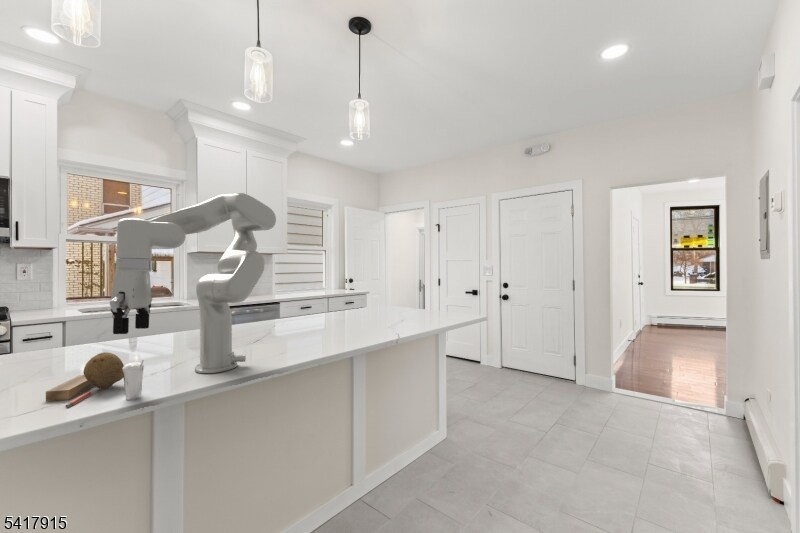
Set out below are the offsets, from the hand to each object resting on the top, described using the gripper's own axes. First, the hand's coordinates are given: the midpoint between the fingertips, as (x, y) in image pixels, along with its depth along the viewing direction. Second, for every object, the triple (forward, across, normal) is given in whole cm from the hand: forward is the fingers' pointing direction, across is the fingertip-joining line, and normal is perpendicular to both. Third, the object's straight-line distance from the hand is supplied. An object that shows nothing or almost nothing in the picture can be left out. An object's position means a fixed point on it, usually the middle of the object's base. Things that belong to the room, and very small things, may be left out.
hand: (131, 330), depth 95 cm
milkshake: (+18, 0, +1) cm, 18 cm away
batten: (+17, -8, -18) cm, 26 cm away
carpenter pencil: (+18, -1, -12) cm, 21 cm away
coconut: (+18, -10, -12) cm, 23 cm away
